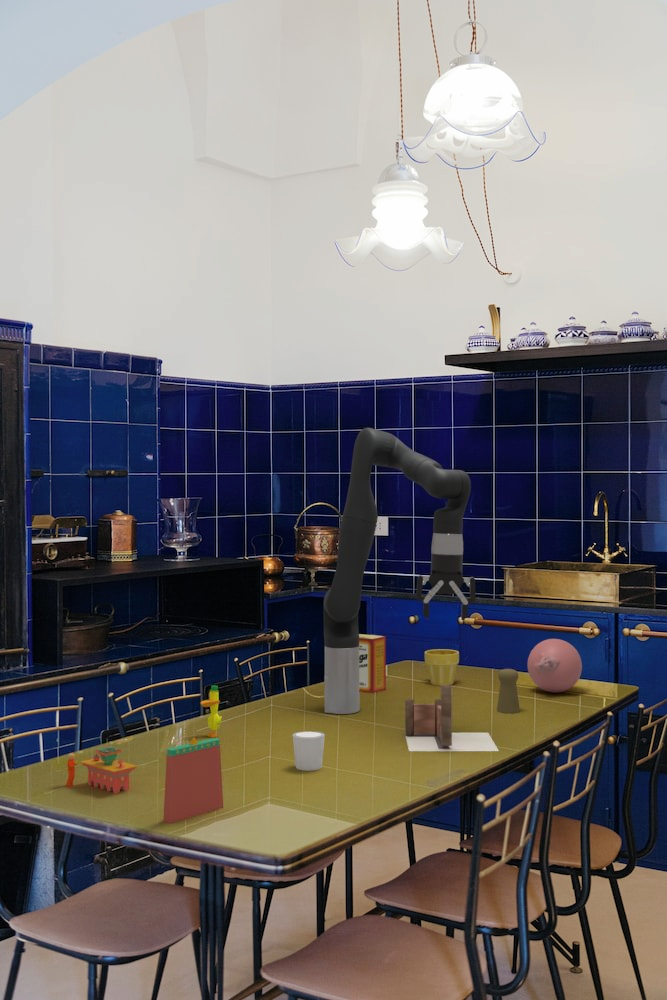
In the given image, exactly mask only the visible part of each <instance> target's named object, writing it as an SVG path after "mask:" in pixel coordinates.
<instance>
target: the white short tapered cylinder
mask: <svg viewBox="0 0 667 1000" xmlns="http://www.w3.org/2000/svg"><path fill="white" fill-rule="evenodd" d="M325 736H326V734H325V733H323V732H321V731H315V730H313V731H312V730H309V731H308V730H305V731H304V730H302V731H297V732H294V733H292V741H293V753H294V762H295V769H297V770H299V771H309V772H310V771H317V770H321V769H322V768H323V759H324V747H325V739H326V738H325Z"/></svg>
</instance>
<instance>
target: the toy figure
mask: <svg viewBox="0 0 667 1000" xmlns="http://www.w3.org/2000/svg"><path fill="white" fill-rule="evenodd" d="M218 687H219V686H218V685H211V688H210V689H209V699H205V700H202V701H201V702H200V705H201V706H202V707H204V708H208V707H209V708H210V714H209V716H208V718H207V722H206V723H207V727H208V728H209V729H210V730H211V732H210V733H207V736H206V737H209V738H216V737H218V734H217V730H219V728H220V726H221V725H222V715H219V714H218V712H219V711H218V710H219V703H220V702H221V700H219V691H220V690H219V689H218Z"/></svg>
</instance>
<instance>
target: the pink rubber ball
mask: <svg viewBox="0 0 667 1000" xmlns="http://www.w3.org/2000/svg"><path fill="white" fill-rule="evenodd" d="M582 663H583V661H582V658H581V655H580V654H579V651H578V650H577V649H576V648H575V647H574V645H572V644H571V643H569V642H568V641H565V640H563V639H558V638H548V639H545V640H542V641H540V642H539V643H537V644H536V645H535V646H534V647H533V649H532V650H530V653H529V656H528V658H527V672H528V674H529V677H530V679H531V681H532V682H533V683H534V685H535V686H536V687H537V688H539V689H541V690H543V691H545V692H547V693H552V694H553V693H555V694H557V693H558V694H559V693H562V692H565V691H568V690H570V689H572V688H573V687H574V686H575V685H577V684H576V683H578V682H579V679H580V677H581V674H582V671H583V664H582Z"/></svg>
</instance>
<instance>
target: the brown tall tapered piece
mask: <svg viewBox="0 0 667 1000" xmlns="http://www.w3.org/2000/svg"><path fill="white" fill-rule="evenodd" d="M497 676H498V680H499V682H500V683H499V692H498V699H497V706H496V711H497V712H498V713H501V714H502V713H503V714H518V713H520V711H521V710H520V703H519V702H520V701H519V694H518V687H517V685H518V684H517V681H518V680H519V674H518V671H517V670H515V669H512V668H504V669H500V671H498V675H497Z"/></svg>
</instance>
